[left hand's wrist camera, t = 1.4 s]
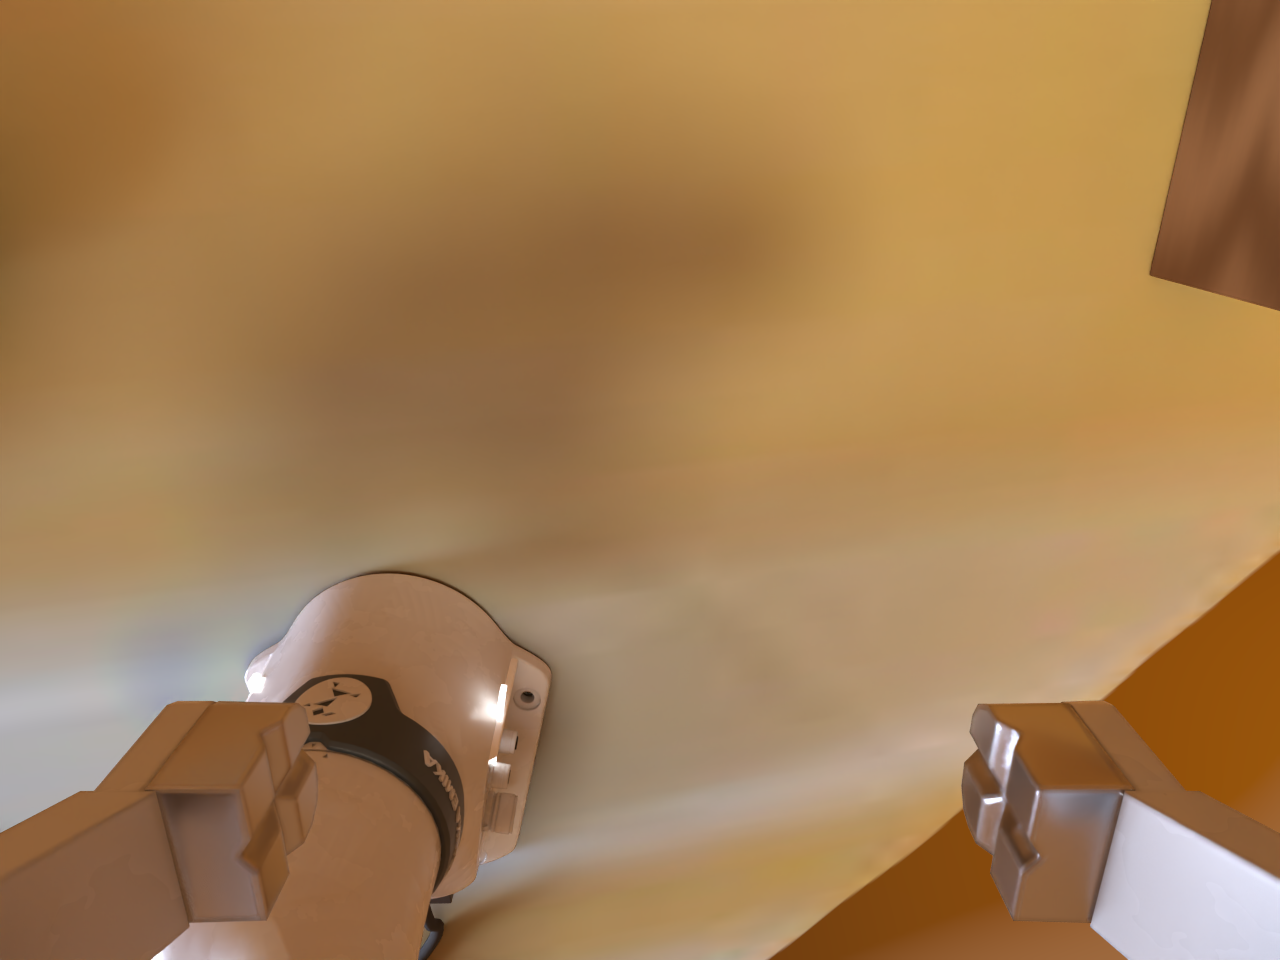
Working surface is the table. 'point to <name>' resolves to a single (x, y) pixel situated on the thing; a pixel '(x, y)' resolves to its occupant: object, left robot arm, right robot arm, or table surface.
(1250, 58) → the box
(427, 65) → the table surface
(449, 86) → the table surface
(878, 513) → the table surface
